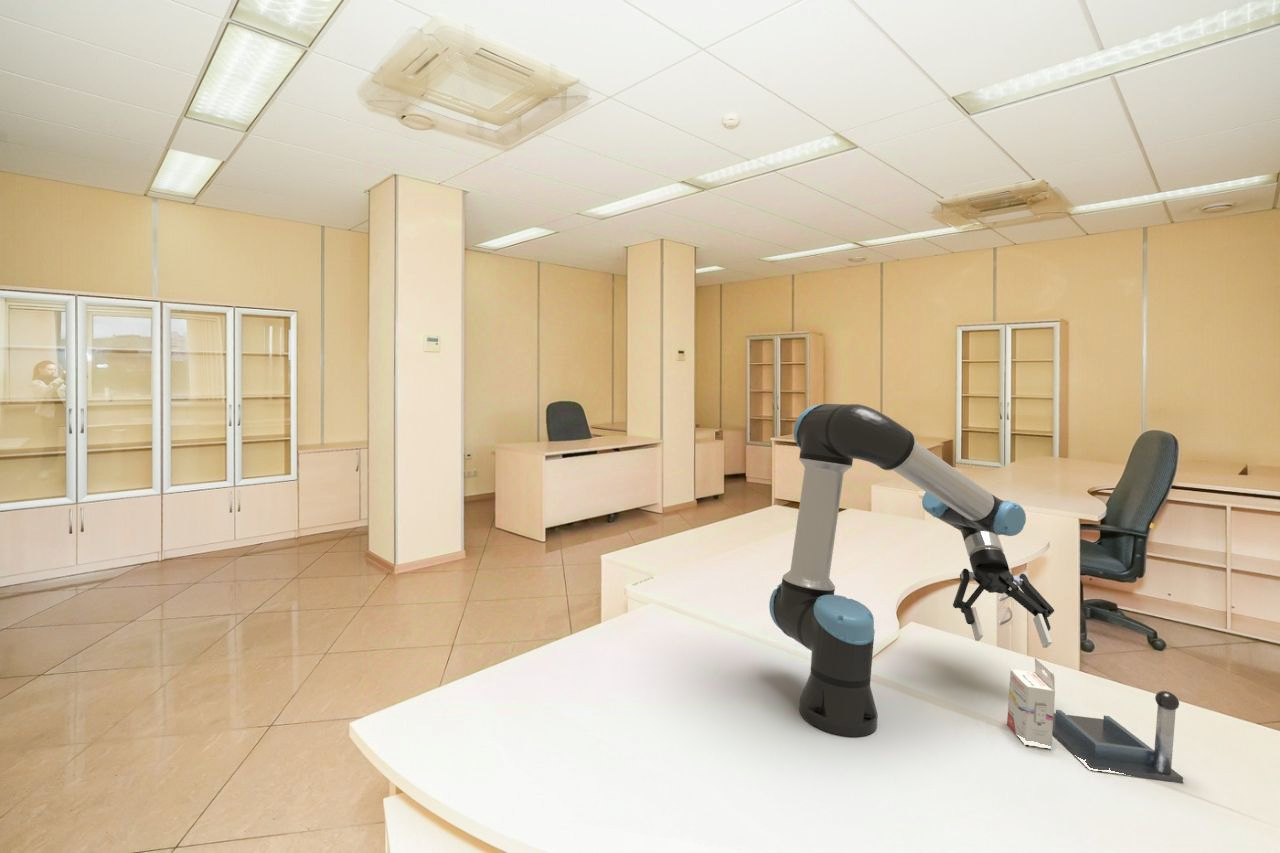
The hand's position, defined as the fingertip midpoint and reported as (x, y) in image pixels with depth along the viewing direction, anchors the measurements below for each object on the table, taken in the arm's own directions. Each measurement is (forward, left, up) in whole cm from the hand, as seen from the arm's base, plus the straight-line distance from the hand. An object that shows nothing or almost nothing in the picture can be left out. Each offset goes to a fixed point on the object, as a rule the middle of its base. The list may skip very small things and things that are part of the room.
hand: (1013, 641), depth 124 cm
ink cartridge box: (-1, -9, -16) cm, 18 cm away
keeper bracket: (+12, -9, -16) cm, 22 cm away
